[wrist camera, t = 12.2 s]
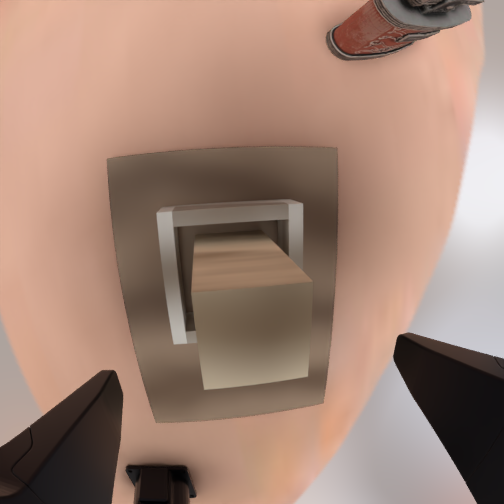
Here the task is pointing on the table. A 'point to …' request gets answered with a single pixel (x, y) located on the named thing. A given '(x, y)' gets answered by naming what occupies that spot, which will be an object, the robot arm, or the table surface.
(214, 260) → the peg
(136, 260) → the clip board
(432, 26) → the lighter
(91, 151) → the table surface
